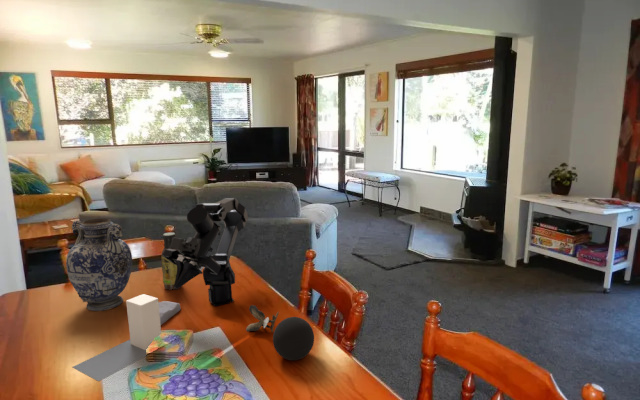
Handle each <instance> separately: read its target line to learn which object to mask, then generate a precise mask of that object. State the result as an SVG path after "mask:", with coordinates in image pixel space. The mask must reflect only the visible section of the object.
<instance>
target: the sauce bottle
mask: <svg viewBox="0 0 640 400" xmlns="http://www.w3.org/2000/svg"><path fill="white" fill-rule="evenodd" d="M173 237H175V238H177V237H176V233H175V232H165V233H163V234H162V238H163V247H164V248H163V249H162V251H161V255H160V256H161V257H160V258H161V270H162V281H163V287H164V289H166V290H170V291H171V290H172V289H173V290H177V289H176V288H174V283H175V279H176V273H177V265H175V264H173V263H171V262H170V261H169V260H167V259H166V258H165V257H163V256H162V255H163V253H164V251H165V250H166V249H172V248H170V246H171V243H172V239H173ZM173 249H174V250H177V249H175V248H173ZM177 251H178V252H180V250H177Z"/></svg>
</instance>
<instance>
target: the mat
mask: <svg viewBox="0 0 640 400" xmlns="http://www.w3.org/2000/svg"><path fill="white" fill-rule="evenodd" d="M145 357H147V356H146V350H143V349H141V348H139V347H136V346H134V345H132V344H131V341H130V339H127V340H126V341H124V342H122V343H119V344H117V345H115V346H113V347H111V348H109V349H107V350H105V351H102V352H101V353H99V354H97V355H94V356H92V357H90V358H88V359H85V360H84V361H82V362H80V363H78V364H76V365H74V366H72V368H73V369H75V370H77V371H78V372H80V373H82V374H84V375H86V376H88V377H90V378H91V379H93V380H95V381H97V382H100V381H102V380H104V379H106V378H108V377H110V376H112V375H113V374H115V373H117V372H119V371H121V370H123V369H125V368H126V367H128V366H130V365H133V364H134V363H135V362H138V361H140V360H141V359H143V358H145Z"/></svg>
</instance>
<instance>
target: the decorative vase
mask: <svg viewBox="0 0 640 400" xmlns="http://www.w3.org/2000/svg"><path fill="white" fill-rule="evenodd" d="M71 230H72V233H73V235H74V236H76V237H77V238H76V239H75V243H74V245H73V246H72V247H70V249H69V250H68V252H67V254H66V260H65V266H66V267H65V268H66V273H67V276H68V279H69V281H70V284H71V285H72V287H73V288H74V290H75V291H76V293H77V295H78V297H79V298H80V299H81V300H82V303H86V305H85V307H86V309H87V310H88V311H93V312H103V311H107V310H111V309H114V308H117V307H118V306H120V305H122V304H123V302H124V298H123V297H122V296H121V295H120V294H121V293H123V292H124V290H125V288H126V287H127V286H128V283H129V280H130V278H131V273H132V269H133V255H132V251H131V248H130V246H129V244H128V243H127V241H124V240H123V239H121V238H122V237H123V227H122V226H121V225H120V224H118V223H114V222H113V221H111V219H109V218H104V217H103V218H91V219H87V220H83V221H81V220H76V221H75V220H74V221H73V222H72V224H71Z"/></svg>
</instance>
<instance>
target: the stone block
mask: <svg viewBox="0 0 640 400" xmlns="http://www.w3.org/2000/svg"><path fill="white" fill-rule="evenodd" d="M158 303H159V314H160V325H161V326H162V325H163V324H165V323H166V322H167V321H168V320H169V319H171V318H173V316H174V315H175V314H178V312H179V311H181V308H182V307H181V304H180V303H179V302H174V301H167V300H163V301H158Z"/></svg>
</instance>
